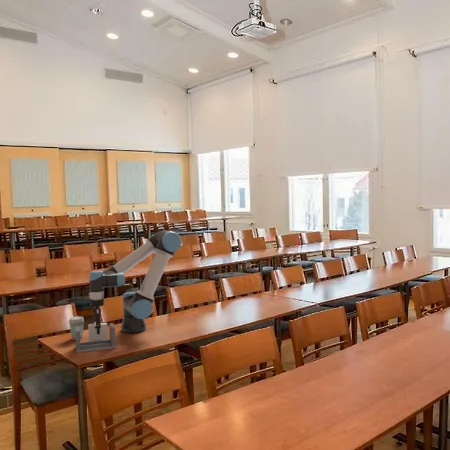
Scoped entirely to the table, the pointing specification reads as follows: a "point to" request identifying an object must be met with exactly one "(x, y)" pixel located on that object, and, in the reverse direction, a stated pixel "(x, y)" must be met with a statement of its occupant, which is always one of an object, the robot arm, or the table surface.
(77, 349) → the track
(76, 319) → the coffee cup
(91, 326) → the block
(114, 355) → the table surface
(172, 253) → the robot arm
